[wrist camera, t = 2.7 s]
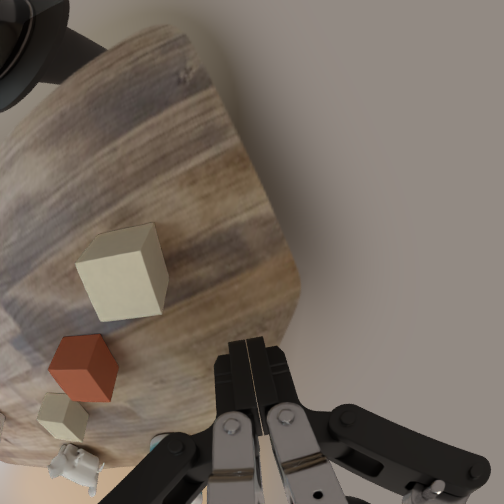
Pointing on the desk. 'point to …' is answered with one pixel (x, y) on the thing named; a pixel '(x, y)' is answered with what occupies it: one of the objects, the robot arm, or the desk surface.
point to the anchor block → (85, 368)
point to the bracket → (1, 423)
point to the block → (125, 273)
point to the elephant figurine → (76, 467)
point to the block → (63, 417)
